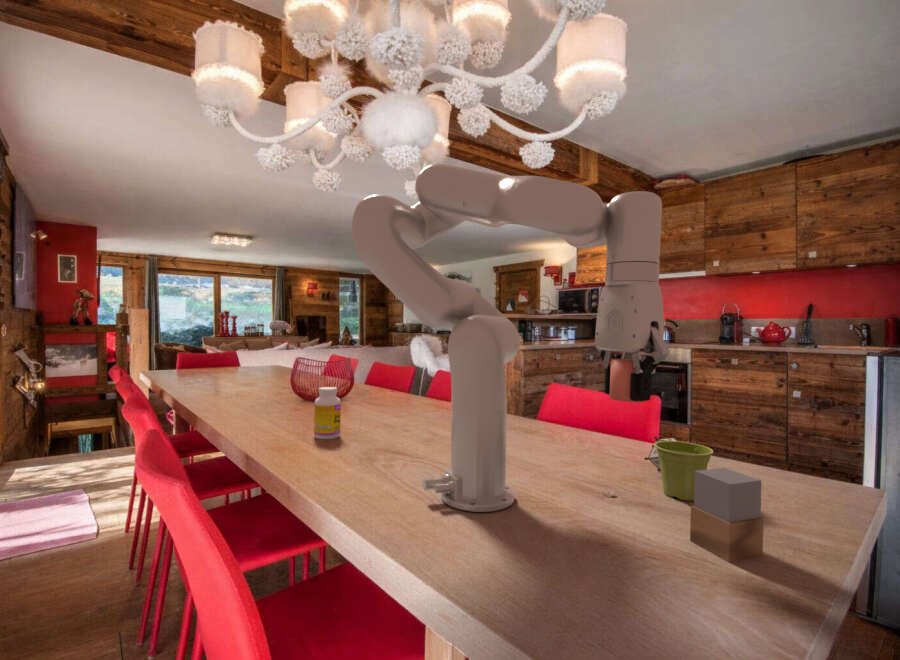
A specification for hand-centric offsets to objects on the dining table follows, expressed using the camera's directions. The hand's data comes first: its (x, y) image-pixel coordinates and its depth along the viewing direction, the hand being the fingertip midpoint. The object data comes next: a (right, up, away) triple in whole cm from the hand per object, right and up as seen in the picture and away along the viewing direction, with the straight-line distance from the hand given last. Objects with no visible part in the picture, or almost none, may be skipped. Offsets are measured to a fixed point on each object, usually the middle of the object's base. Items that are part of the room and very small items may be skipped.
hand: (626, 395), depth 68 cm
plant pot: (+15, -20, +12) cm, 28 cm away
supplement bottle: (-59, -18, +50) cm, 79 cm away
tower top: (+11, -15, -7) cm, 20 cm away
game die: (+18, -20, +23) cm, 35 cm away
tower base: (+11, -20, -7) cm, 24 cm away
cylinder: (0, -1, 0) cm, 1 cm away
